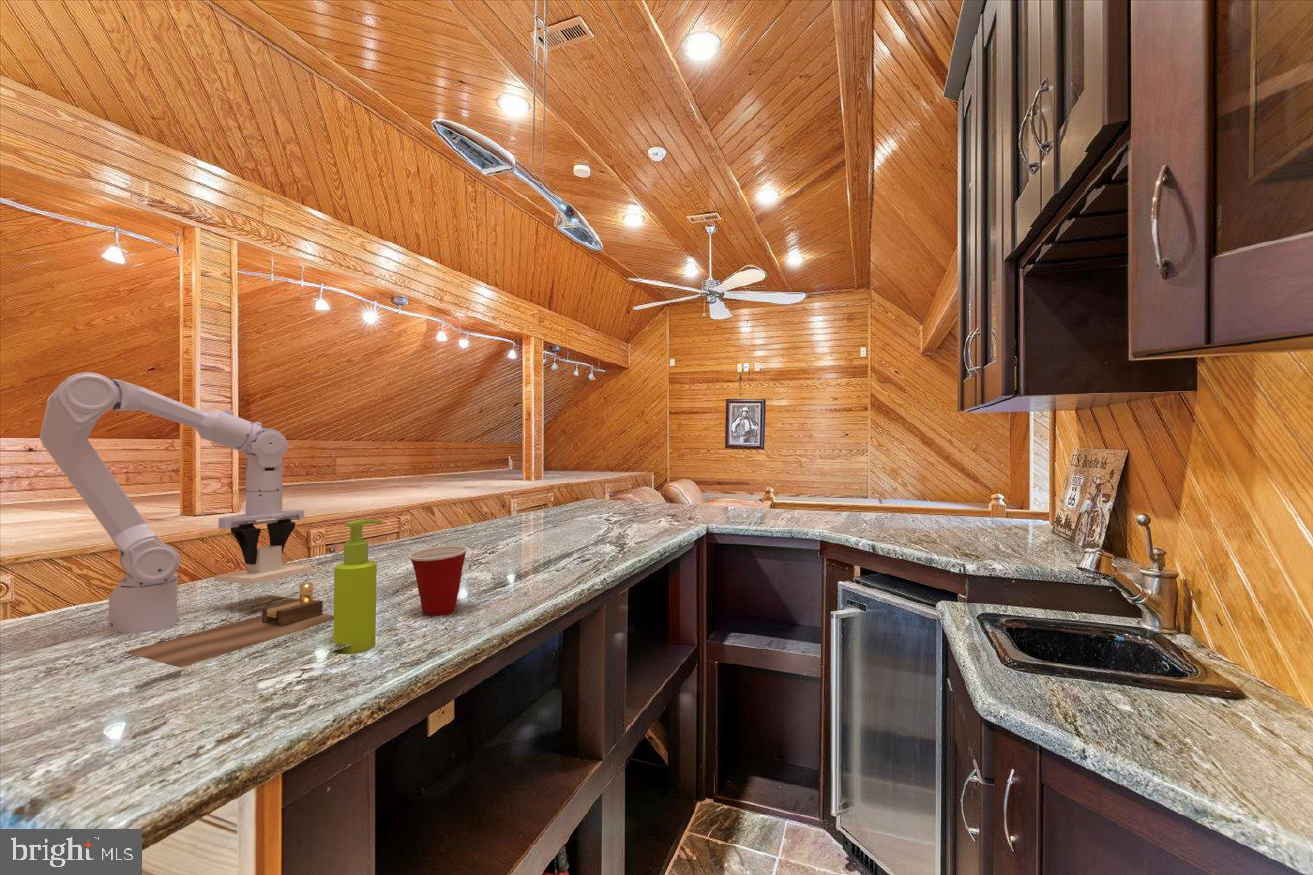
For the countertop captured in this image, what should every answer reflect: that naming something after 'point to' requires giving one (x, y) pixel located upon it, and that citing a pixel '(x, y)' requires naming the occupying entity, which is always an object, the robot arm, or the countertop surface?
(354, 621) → the soap dispenser
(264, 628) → the box base
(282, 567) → the cover
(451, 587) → the plastic cup
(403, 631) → the countertop surface
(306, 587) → the brass bolt
